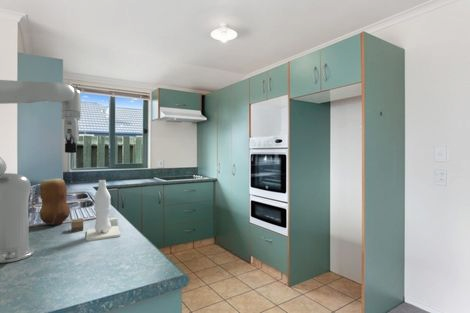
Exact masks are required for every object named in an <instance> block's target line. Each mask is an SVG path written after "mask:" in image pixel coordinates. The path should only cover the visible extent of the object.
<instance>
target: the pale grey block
mask: <svg viewBox="0 0 470 313" xmlns="http://www.w3.org/2000/svg"><path fill="white" fill-rule="evenodd" d="M118 220H119V219H118V217H109V221H110V223H111V227H112V226H118V227H119V225H118V224H119V222H118Z"/></svg>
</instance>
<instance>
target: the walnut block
mask: <svg viewBox="0 0 470 313" xmlns="http://www.w3.org/2000/svg"><path fill="white" fill-rule="evenodd" d="M70 225H71V228H70V230H71V233H75V232H83V231H84V218H77V219H72V220H71V224H70Z"/></svg>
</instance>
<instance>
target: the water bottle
mask: <svg viewBox="0 0 470 313" xmlns="http://www.w3.org/2000/svg"><path fill="white" fill-rule="evenodd" d="M97 185H98V188H97V190H96V192H95V194H94V197H93V199H94V200H93V203H94V208H93V210H94V212H95V216H96V219H95V224H94V226H93V227H94V228H93V229H95V230H96V232H97V233H101V231H103V233H107V231H110V228H111V223H110V221H109V218H110V211H111V198H112V197H111V194H110V192H109V190H108V189H107V182H106V179H99V180H98V184H97Z"/></svg>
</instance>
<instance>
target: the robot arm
mask: <svg viewBox="0 0 470 313" xmlns="http://www.w3.org/2000/svg"><path fill="white" fill-rule="evenodd" d="M81 96H82V94H81V91H80V90H79V89H77V88H74V87H73V86H71V85H70V84H69V83H66V82H55V81H31V80H30V81H29V80H11V79H10V80H9V79H0V104H1V105H4V104H32V103H33V104H34V103H40V102H49V103H58V104H59V103H60V104H61V119H63V120H64V121H63V137H64V140H65V142H64V152H65V153H68V154H69V153H70V154H71V153H72V154H74V153H75V154H76V153H77V141H79V139H80V135H79V121H80V120H81V114H82V113H81V108H82V104H81V103H82V100H81ZM31 189H32V185H31V182H30V179H28V177H26V176H25V175H23V174H19V173H9V172H8V173H7V164H6V162H5V160H4V158H2V157H1V156H0V264H5V263H11V262H17V261H22V260H24V259H27V258H29V257H31V256H32V255H33V254H34V253H35V249H34V248H32V247H30V237H29V236H30V235H29V234H30V231H29V229H30V228H29V227H30V226H29V202H30V201H29V199H30V195H31V191H32V190H31Z"/></svg>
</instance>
